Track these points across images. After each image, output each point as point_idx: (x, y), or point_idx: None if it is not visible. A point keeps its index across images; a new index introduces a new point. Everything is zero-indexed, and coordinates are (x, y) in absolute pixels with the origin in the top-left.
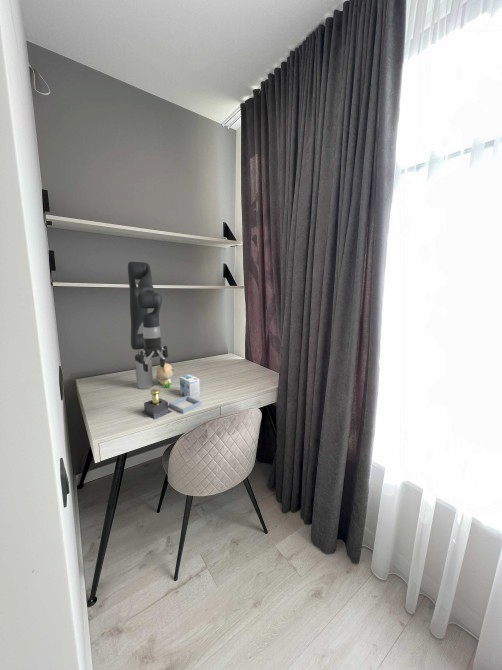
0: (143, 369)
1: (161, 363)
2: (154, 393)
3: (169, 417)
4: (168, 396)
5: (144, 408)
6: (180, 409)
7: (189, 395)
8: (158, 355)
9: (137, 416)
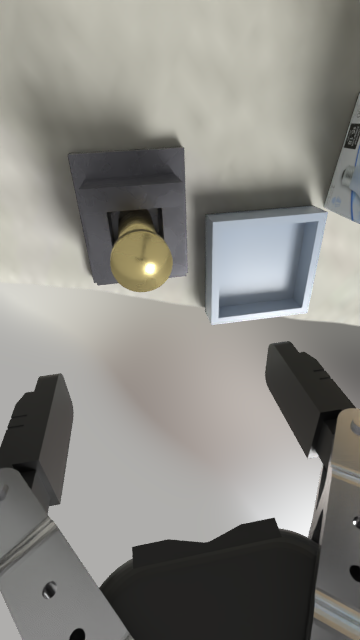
0: (16, 410)
1: (285, 395)
2: (124, 284)
3: (158, 288)
4: (301, 50)
5: (82, 183)
6: (210, 305)
7: (338, 209)
8: (319, 524)
9: (43, 170)
